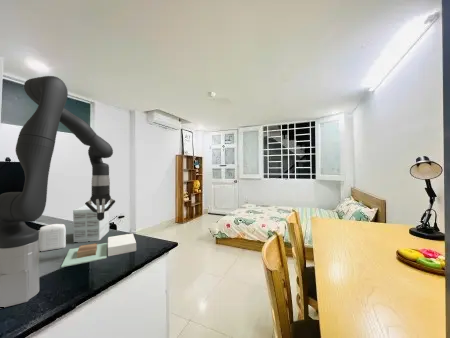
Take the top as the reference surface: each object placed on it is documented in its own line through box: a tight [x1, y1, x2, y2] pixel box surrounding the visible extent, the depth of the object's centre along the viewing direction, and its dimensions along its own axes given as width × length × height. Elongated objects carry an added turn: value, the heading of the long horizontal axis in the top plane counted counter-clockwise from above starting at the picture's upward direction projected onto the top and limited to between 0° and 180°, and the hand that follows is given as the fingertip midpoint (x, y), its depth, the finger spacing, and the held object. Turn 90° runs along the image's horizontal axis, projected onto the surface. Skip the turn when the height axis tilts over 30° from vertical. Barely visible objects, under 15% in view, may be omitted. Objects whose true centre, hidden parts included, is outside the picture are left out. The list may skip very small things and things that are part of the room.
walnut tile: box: [77, 242, 98, 258], centre depth 94 cm, size 9×7×2 cm
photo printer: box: [38, 223, 67, 252], centre depth 100 cm, size 10×4×12 cm, turn 123°
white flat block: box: [107, 232, 137, 257], centre depth 101 cm, size 16×12×4 cm
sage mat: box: [60, 242, 108, 268], centre depth 94 cm, size 20×16×1 cm
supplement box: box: [72, 203, 110, 243], centre depth 117 cm, size 17×13×18 cm
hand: (100, 220), depth 96 cm, fingers closed
